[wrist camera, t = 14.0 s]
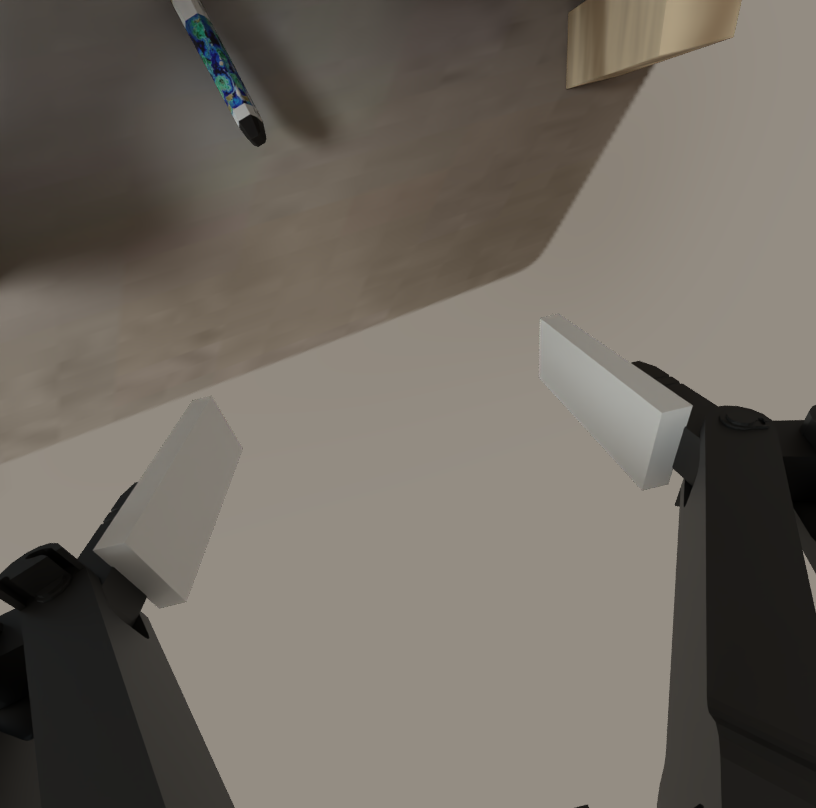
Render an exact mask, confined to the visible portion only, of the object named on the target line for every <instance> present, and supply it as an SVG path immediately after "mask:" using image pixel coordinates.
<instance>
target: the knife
mask: <svg viewBox="0 0 816 808" xmlns="http://www.w3.org/2000/svg"><path fill="white" fill-rule="evenodd" d="M170 1H171V3H172V4H173V6H174V8H175V10H176V12H177V14H178V16H179V17H180V19H181V21H182V23H183V25H184V27H185V29H186V30H187V32H188V34H189V36H190V38H191V40H192V41H193V43H194V45H195V47H196V49H197V51H198V53H199V54H200V56H201V58H202V60H203V62H204V64H205V65H206V67H207V69H208V71H209V73H210V75H211V77H212V78H213V80H214V82H215V84H216V86H217V88H218V90H219V91H220V93H221V95H222V97H223V99H224V101H225V102H226V104H227V106H228V108H229V110H230V112H231V114H232V115H233V117H234V119H235V121H236V123H237V125H238V126H239V128H240V129H241V131H242V132H243V133H244V135H245V136H246V137H247V139H248V140H249V141H250V142H251V143H252V144H253V145H254V146H257V147H259V146H260V145H262V144H264V143H265V142H266V134H265V129H264V124H263V121H262V119H261V117H260V115H259V113H258V111H257V109H256V107H255V105H254V103H253V101H252V99H251V97H250V96H249V94H248V92H247V90H246V88H245V86H244V84H243V82H242V80H241V78H240V76H239V74H238V73H237V71H236V69H235V67H234V65H233V63H232V61H231V59H230V57H229V55H228V53H227V52H226V50H225V48H224V46H223V44H222V42H221V40H220V38H219V36H218V34H217V32H216V30H215V28H214V27H213V25H212V23H211V21H210V19H209V17H208V15H207V13H206V11H205V9H204V7H203V5H202V4H201V2H200V0H170Z"/></svg>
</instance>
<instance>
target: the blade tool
mask: <svg viewBox="0 0 816 808" xmlns="http://www.w3.org/2000/svg"><path fill="white" fill-rule="evenodd" d="M741 1H742V0H586V1H585V2H583V3H582V4H581V5H579V6H578V7H576V8H575V9H573V10H572V11H570V12H569V13H568V44H567V76H566V89H569V88H573V87H577V86H581V85H585V84H589V83H593V82H597V81H601V80H605V79H608V78H612V77H616V76H620V75H623V74H626V73H629V72H632V71H635V70H638V69H641V68H644V67H647V66H650V65H653V64H655V63H658V62H661V61H664V60H667V59H670V58H673V57H676V56H679V55H682V54H685V53H688V52H691V51H694V50H697V49H700V48H702V47H706V46H709V45H712V44H715V43H717V42H721V41H724V40H726V39H730V38H732V37H734V33H735V28H736V24H737V19H738V15H739V10H740V6H741Z"/></svg>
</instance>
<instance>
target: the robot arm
mask: <svg viewBox="0 0 816 808" xmlns="http://www.w3.org/2000/svg"><path fill="white" fill-rule="evenodd" d="M539 345H540V346H539V378H540V380H541V381H542V382H543V383H544V384H545V385H546V386H547V387H548V388H549V389H550V390H551V392H552V393H553V394H554V395H555V396H556V397H557V398H558V399H559V400H560V401H561V403H562V404H563V405H564V406H565V407H566V408H567V409H568V410H569V411H570V412H571V413H572V414H573V416H574V417H575V418H576V419H577V420H578V421H579V422H580V423H581V424H582V425H583V427H584V428H585V429H586V430H587V431H588V432H589V433H590V434H591V435H592V436H593V438H595V440H596V441H597V442H598V443H599V444H600V445H601V446H602V447H603V448H604V449H605V450H606V452H607V453H608V454H609V455H610V456H611V457H612V458H613V459H614V460H615V462H616V463H617V464H618V465H619V466H620V467H621V468H622V469H623V470H624V471H625V473H626V474H627V475H628V476H629V477H630V478H631V479H632V480H633V481H634V482H635V483H636V485H637V486H638V487H639V488H640V489H641V490H647V489H650V488H655V487H659V486H663V485H667V484H668V483H669V480H670V476H671V474H672V470H673V469H674V470H675V471H676V472H678V473H679V474H680V475H681V476H682V477H683V478H684V480H683V483H682V485H681V488H680V491H679V494H678V497H677V500H676V503H675V506H680V512H679V530H678V548H677V565H676V584H675V602H674V619H673V638H672V655H671V673H670V691H669V710H668V727H667V745H666V758H665V765H664V769H663V774H662V778H661V782H660V787H659V794H658V802H657V808H816V612H815V607H814V602H813V597H812V593H811V588H810V583H809V579H808V574H807V570H806V565H805V560H804V556H803V551H804V553H805V555H806V557H807V559H808V560H809V562H810V564H811V566H812V568H813V569H814V571H815V573H816V405H815V406H813V407H812V408H811V409H810V411H809V413H808V415H807V416H806V418H805V420H794V421H793V420H792V421H791V420H789V421H772V420H771V419H769V418H768V417H766V416H765V415H764V414H762V413H759V412H757V411H754V410H752V409H748V408H743V407H739V406H719V407H718V406H716V405H715V404H713V403H712V402H710V401H709V400H707V399H706V398H704V397H702V396H701V395H699V394H698V393H696V392H695V391H693V390H692V389H690V388H688V387H687V386H685V385H684V384H680V383H679V381H677V380H676V379H674V378H673V377H669V375H668V374H667V373H665V372H664V371H662V370H660V369H659V368H657V367H655V366H653V365H649V364H647V363H643V362H640V361H637V362H632V363H630V362H629V361H627V360H626V359H624V358H623V357H621V356H620V355H618V354H617V353H616V352H614V351H613V350H611V349H610V348H608V347H607V346H605V345H604V344H602V343H601V342H599V341H598V340H597V339H595V338H593V337H592V336H591V335H589V334H588V333H586V332H585V331H583V330H582V329H581V328H579V327H578V326H576V325H574V324H573V323H571V322H570V321H569V320H568V319H566V318H565V317H563V316H562V315H560V314H555V315H550V316H546V317H542V318H540V341H539ZM242 450H243V448H242V446H241V444H240V443H239V441H238V439H237V437H236V436H235V434H234V433H233V431H232V429H231V427H230V426H229V424H228V422H227V421H226V419H225V417H224V416H223V414H222V412H221V411H220V409H219V407H218V405H217V404H216V402H215V401H214V399H213V397H212V396H209V397H204V398H200V399H197V400H192V402H191V403H190V405H189V406H188V408H187V409H186V411H185V412H184V414H183V415H182V417H181V418H180V420H179V421H178V423H177V424H176V426H175V427H174V429H173V430H172V432H171V433H170V435H169V436H168V438H167V439H166V441H165V442H164V444H163V445H162V447H161V449H160V450H159V451H158V453H157V454H156V456H155V457H154V459H153V460H152V462H151V463H150V465H149V467H148V468H147V470H146V471H145V473H144V474H143V475H142V477H141V479H140V480H139V482H136V483H134V484H133V485H132V486H131V487H130V488H129V489H128V490H127V491H126V492H125V493H123V494H122V495H121V496H120V498H119V499H118V501H117V502H116V504H115V505H114V507H113V508H112V509H111V512H110V513H109V514H108V515H107V517H106V518H105V520H104V521H103V522H104V524H101V525H100V527H99V528H98V530H97V531H96V533H95V534H94V535H93V537H92V538H91V540H90V541H89V543H88V544H87V546H86V547H85V549H84V550H83V551H82V553H81V554H80V556H79V557H78V559H76V558H75V557H74V556H73V555H71V554H70V553H69V552H68V551H67V550H65V549H64V548H63V547H62V546H60V545H59V544H58V543H49V544H46V545H43V546H40V547H37V548H35V549H33V550H31V551H30V552H28V553H26V554H24V555H23V556H22V557H20V558H19V559H17V560H16V561H15V562H13V563H12V564H10V565H9V566H8V567H7V568H6V569H5V570H4V571H3V572H2V573H1V574H0V599H1V600H3V601H5V602H6V603H8V604H9V605H11V606H13V607H14V608H15V609H13V610H11V611H9V612H7V613H5V614H3V615H1V616H0V808H234V805H233V803H232V801H231V799H230V797H229V794H228V792H227V790H226V788H225V786H224V783H223V781H222V779H221V777H220V775H219V772H218V770H217V768H216V766H215V764H214V762H213V759H212V757H211V755H210V753H209V751H208V748H207V746H206V744H205V742H204V740H203V737H202V735H201V733H200V731H199V729H198V726H197V724H196V722H195V720H194V718H193V716H192V713H191V711H190V709H189V707H188V705H187V702H186V700H185V698H184V696H183V694H182V692H181V689H180V687H179V685H178V683H177V680H176V678H175V676H174V674H173V672H172V669H171V667H170V665H169V663H168V661H167V659H166V656H165V654H164V652H163V650H162V648H161V645H160V643H159V641H158V639H157V637H156V634H155V632H154V630H153V628H152V626H151V623H150V621H149V619H148V617H146V616H145V615H144V614H143V613H142V612H141V609H142V606H143V604H144V602H145V600H146V598H148V599H149V600H150V601H151V602H152V603H154V604H155V605H156V606H157V607H158V608H164V607H168V606H172V605H176V604H180V603H184V602H187V599H188V596H189V594H190V591H191V588H192V585H193V583H194V580H195V577H196V575H197V572H198V569H199V566H200V564H201V561H202V558H203V555H204V553H205V550H206V547H207V544H208V542H209V539H210V537H211V534H212V531H213V529H214V526H215V523H216V520H217V518H218V515H219V512H220V509H221V507H222V504H223V501H224V499H225V496H226V493H227V490H228V488H229V485H230V482H231V480H232V477H233V474H234V472H235V469H236V466H237V464H238V461H239V458H240V455H241V453H242ZM802 550H803V551H802ZM577 808H589V807H588V805H584V806H580V807H577Z"/></svg>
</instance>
